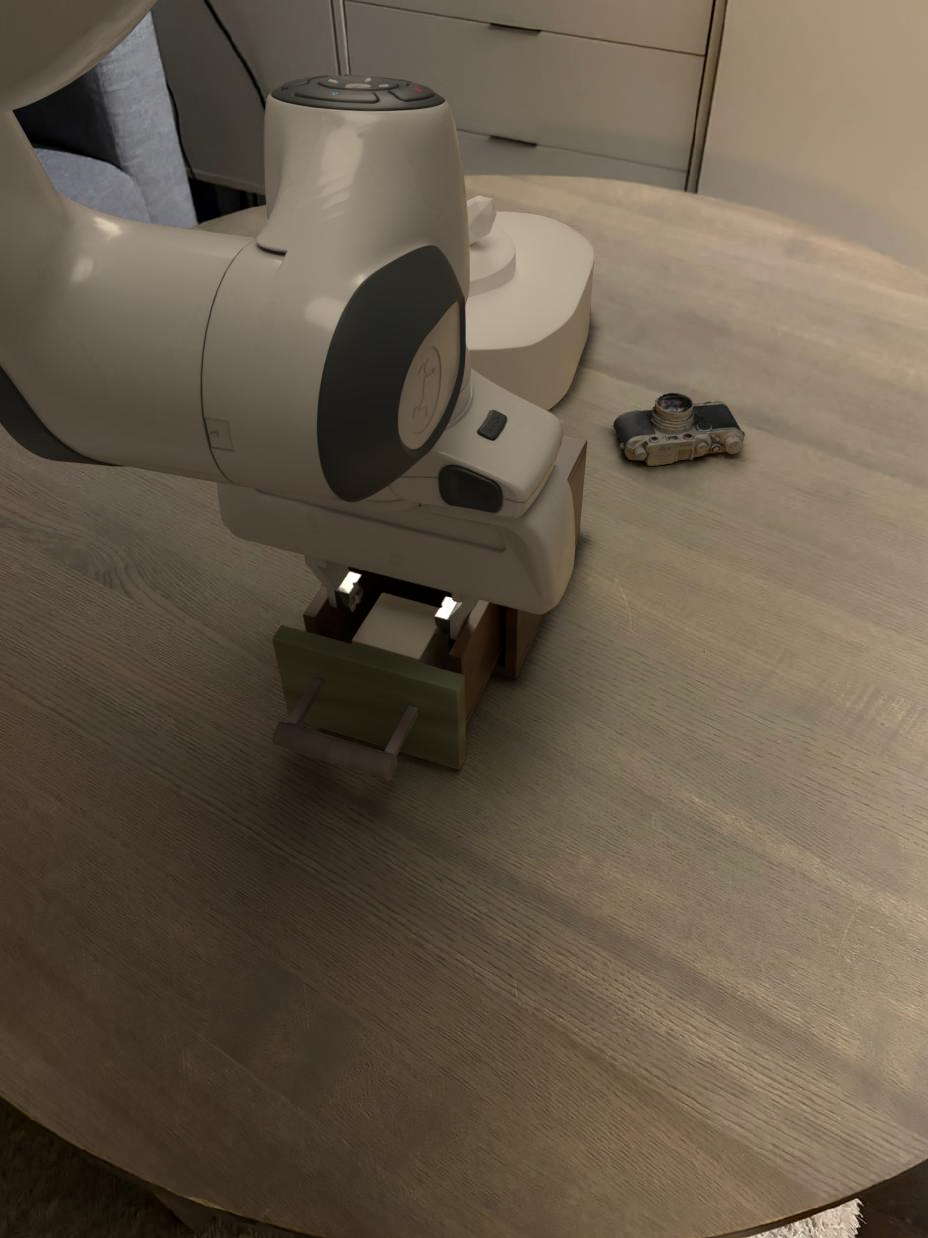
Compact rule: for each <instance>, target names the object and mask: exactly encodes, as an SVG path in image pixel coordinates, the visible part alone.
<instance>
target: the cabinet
mask: <svg viewBox="0 0 928 1238" xmlns="http://www.w3.org/2000/svg"><path fill="white" fill-rule="evenodd" d="M587 449H588V439H585V438H580V437H575V436H570V435H566V434H563V438H562V443H561V447H560V450H559V454H558V457H557V459H556V462H555V465H557V466H558V467H559V468H560V469H561V471H562V472H563V473H564V475H565V476H566V478H567V480H568V483H569V485H570V489H571V493H572V498H573V508H574V520H575V549H577V548H576V547H577V546H578V543H579V542H580V532H581V524H582V523H581V520H582V512H583V511H582V510H583V500H584V499H583V498H584V487H585V475H586V474H585V473H586V463H587V452H588V451H587ZM546 613H547V612H546ZM546 613H544V614H533V613H529V612H526V611H522V610H518V609H514V608H510V607H506V635H505V646H504V648H503V650H502V652H501V654H500V657H499V659H498V661H497V663H496V665H495V667H494V669H493V671H492V673H491V674H496V675H499V676H503V677H506V678H510V679H514V680H516V679H517V677H518V676H519V673H520V671H521V669H522V667H523V664H524V662H525V660H526V658H527V655H528V653H529V651H530V649H531V646H532V644H533V643H534V640H535V637H536V635H537V633H538V631H539V629H540V627H541V626H542V623H543V620H544V618H545V617H546Z"/></svg>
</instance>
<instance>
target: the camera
mask: <svg viewBox="0 0 928 1238" xmlns="http://www.w3.org/2000/svg"><path fill="white" fill-rule="evenodd" d="M654 401H655V402H654V406H653V407H652V409H644V410H641V409H633V410H627V411H625V412H624V413H621V414H619V415H618V416H617V417H616V418H615V419H614V421H613V425H612V427H613V429H614V431H615V433H616V435H617V437H618V442H619V449H621V450H623V451H624V455H625V456H626V458H627V459H628V460H631V461H643V462H645V464H646V465H647V466H649V467H658V466H661V465H667V464H673V463H674V462H678V461H682V460H690V461H693V459H694V458H698V457H703V456H705V455H708V454H718V453H728V454H730V455H734V454H737V453H739V452H740V451H741V450H742V448H743V442H744V441H745V436H746V434H745V431H744V430H742V429H741V427H740V425H739V424H738V422H737V419H736V418H735V416H734V415H733V413H732V411H731V410H730V408H729V406H728V405H727V404H726V402H723V401H719V400H716V401H706V402H697V403H695V402H694V401H693V400H692V398H691V397H689V396H687V395H686V394H683V393H681V392H667V393H664V394H662V395H660V396H659V397H656V398H655V400H654Z"/></svg>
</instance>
